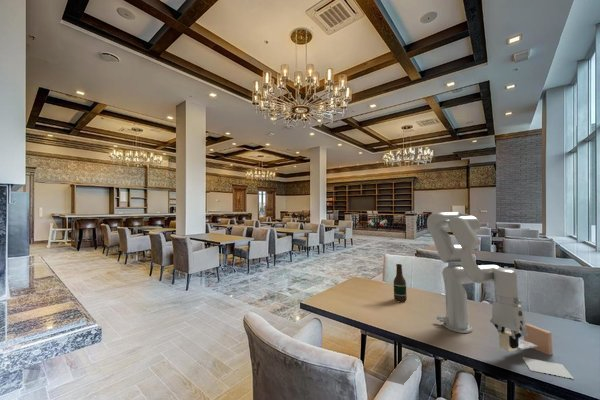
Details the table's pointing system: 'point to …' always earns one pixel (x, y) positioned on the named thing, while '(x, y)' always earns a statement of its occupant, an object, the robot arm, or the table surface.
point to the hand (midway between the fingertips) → (509, 344)
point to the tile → (539, 338)
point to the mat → (547, 367)
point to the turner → (506, 342)
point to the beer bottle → (399, 285)
